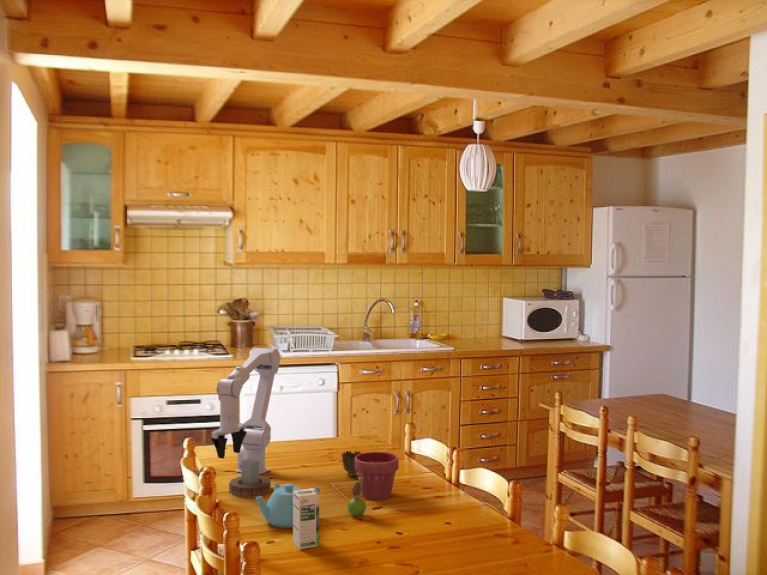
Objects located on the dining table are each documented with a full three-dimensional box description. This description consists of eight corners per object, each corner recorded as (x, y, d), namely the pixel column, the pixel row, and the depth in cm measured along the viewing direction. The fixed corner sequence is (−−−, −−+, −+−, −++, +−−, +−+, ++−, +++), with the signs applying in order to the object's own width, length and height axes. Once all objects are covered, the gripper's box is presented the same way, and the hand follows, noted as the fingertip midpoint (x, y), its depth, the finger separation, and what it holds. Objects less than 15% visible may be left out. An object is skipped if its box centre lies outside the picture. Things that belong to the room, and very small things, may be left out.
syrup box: (299, 550, 199) (299, 496, 198) (292, 542, 204) (292, 489, 204) (319, 546, 201) (319, 493, 200) (312, 539, 207) (312, 486, 206)
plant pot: (360, 487, 251) (360, 449, 251) (401, 490, 248) (402, 452, 248) (349, 501, 237) (349, 461, 237) (393, 505, 234) (393, 464, 234)
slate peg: (241, 491, 246) (241, 461, 246) (249, 488, 250) (249, 458, 249) (250, 493, 244) (250, 463, 244) (258, 490, 248) (258, 460, 247)
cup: (364, 473, 267) (364, 450, 267) (361, 479, 260) (361, 456, 259) (343, 472, 268) (343, 450, 268) (340, 478, 261) (340, 455, 260)
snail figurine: (369, 512, 227) (369, 473, 227) (361, 520, 221) (362, 479, 221) (352, 510, 229) (353, 471, 229) (344, 517, 223) (345, 477, 222)
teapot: (252, 526, 215) (252, 489, 215) (274, 509, 230) (274, 474, 229) (301, 533, 211) (301, 495, 210) (321, 515, 225) (321, 479, 225)
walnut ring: (221, 492, 245) (221, 483, 245) (247, 482, 256) (247, 473, 256) (252, 499, 238) (252, 490, 238) (278, 488, 249) (278, 479, 249)
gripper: (223, 420, 242) (223, 462, 243) (252, 412, 255) (252, 451, 255) (206, 417, 246) (206, 459, 246) (236, 409, 258) (236, 448, 259)
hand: (229, 455), depth 251 cm, fingers open, 7 cm apart
